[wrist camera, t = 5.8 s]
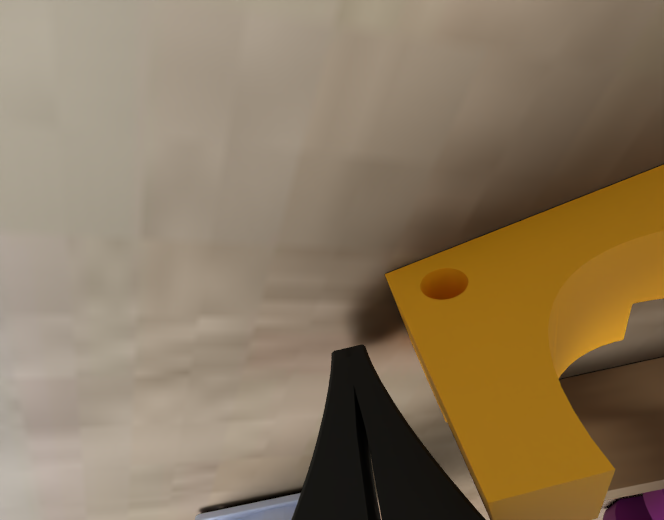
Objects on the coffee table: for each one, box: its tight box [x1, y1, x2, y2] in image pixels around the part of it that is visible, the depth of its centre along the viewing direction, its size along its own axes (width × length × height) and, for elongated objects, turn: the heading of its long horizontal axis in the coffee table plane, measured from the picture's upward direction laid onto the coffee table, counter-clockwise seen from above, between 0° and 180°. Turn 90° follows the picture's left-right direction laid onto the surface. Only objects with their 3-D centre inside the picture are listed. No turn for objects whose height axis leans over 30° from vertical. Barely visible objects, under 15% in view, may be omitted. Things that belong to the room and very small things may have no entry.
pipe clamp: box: [385, 165, 664, 520], centre depth 7 cm, size 12×4×6 cm, turn 113°
